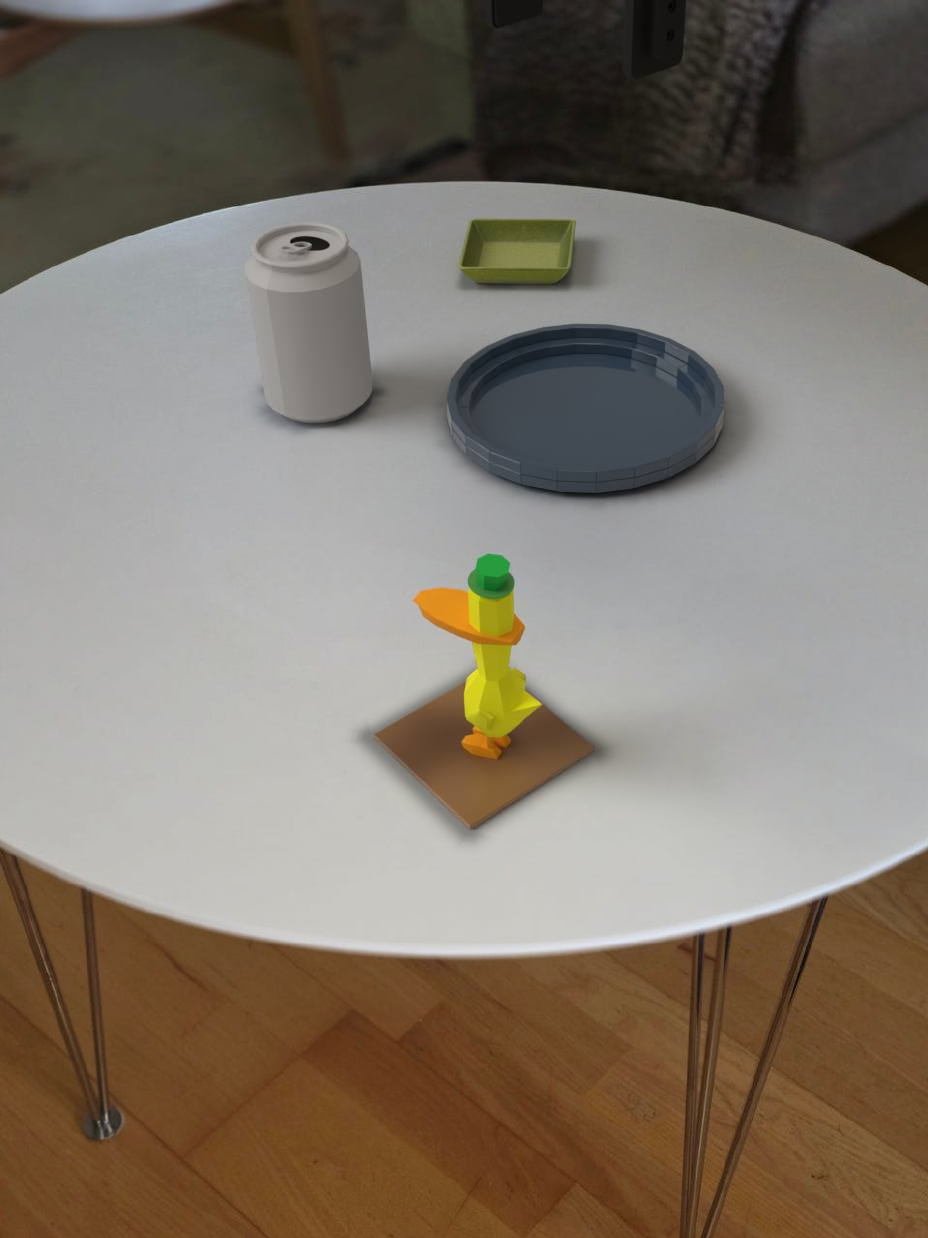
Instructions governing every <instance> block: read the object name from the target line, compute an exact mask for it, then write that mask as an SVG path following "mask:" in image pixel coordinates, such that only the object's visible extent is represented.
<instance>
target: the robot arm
mask: <svg viewBox="0 0 928 1238" xmlns="http://www.w3.org/2000/svg"><path fill="white" fill-rule="evenodd" d="M484 2H485V3H484V5H485V22H486V24H487V25H488V26H489V27H492V28H495V29H501V28H504V27H508V26H511V25H514V24H518V23H520V22H522V21H523V22H524V21H526V20H531V19H533V18H536V17H538V16H540V15H541V14H542V12H543V9H544V0H484ZM686 11H687V0H624V13H623V39H622V40H623V41H622V43H623V45H622V51H623V52H622V71H623V74H624V76H625V77H627V78H630V79H633V80H640V79H642V78H646V77H649V76H651V75H654V74H657V73H660V72H662V71H663V72H664V71H666V70H668V69H672V68H674V67H677V66H678V65H679V64H680V63H681V61H682V60H683V56H684V44H685V43H684V42H685V28H686V27H685V26H686Z"/></svg>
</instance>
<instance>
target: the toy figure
mask: <svg viewBox="0 0 928 1238" xmlns="http://www.w3.org/2000/svg"><path fill="white" fill-rule="evenodd" d="M510 568H511V562H510V561H509V560H508V559H507V558H506V557H505V556H504V555H503V554H496V553H486V554H484V555H481V556H479V557H477V559H476V563H475V568H474V569H473V570H472V571H470V573H469V575H468V577H467V586H468V590H464V589H458V588H451V587H442V586H441V587H435V588H428V589H423V590H422V589H421V590H420V591H419V593H417V594H416V595H415V596H414V598H412V602H413V603H414V604H416V605H417V606H418V608H419V610H420V613H421V616H422V617H423V618H424V619H425V620H427V621H429V622H430V623H431V624H432V625H434V626H435V627H438V628H440V629H441V630H444V631H446V632H448V633H450V634H452V635H454V636H456V637H458V638H461V639H464V640H467V641H469V642H471V645H472V649H473V654H474V658H475V664H476V669H475V670H474V671H473V672H472V673H471V674H469V675H468V676H467V677H466V686H465V691H464V705H465V717H466V718H467V719H466V720H468V721H469V722H470V723H472V724H473V725H475V726H474V727H473V729H472V730H473V733H474V734H472V735H467V736H465V737H464V739H463V740H462V742H461V743H462V746H463V748H465V749H466V750H467V751H469V752H470V753H471V754H474V755H477V756H482V757H487V758H492V759H498V757H499V756H500V754H501V750H500V749H499V748H498V747H497V746H500V747H504V748H507V746H508V745H509V744H510V743H511V739H510V738H509V737H508V736H507V734H508V733H510V732H511V731H512V730H513V729H514V728H515V727H516V726H518V725H519V724H520V723H521V722H522V721H523V720H524V719H525V718H526V717H527V716H529V715H530V714H531V713H532V712H533V711H535V710H536V709H537V708H538V707H540V706H541V705H543V703H541V702H540V701H539V700H538V699H537V698H535V697H534V696H533V695H532V694H531V693H529V692H528V691H527V690H526V678H527V677H526V676H527V675H526V674H525V673H523V672H522V671H521V670H518V669H517V668H515V667H513V668H510V662H511V654H512V653H511V652H512V646H517V645H518V644H519V643H520V641H521V640H522V637H523V635H524V632H525V630H526V625H525V624H524V623H523V622H522V621H521V619H520V618H519V617H518V616H517V615H516V613H515V594H514V592H515V591H514V588H515V583H516V581H515V578H514V575H512V573H511V572H510ZM526 691H527V692H528V693H527V692H526ZM532 696H533V697H532ZM537 700H538V701H537Z"/></svg>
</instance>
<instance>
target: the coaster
mask: <svg viewBox="0 0 928 1238" xmlns="http://www.w3.org/2000/svg"><path fill="white" fill-rule="evenodd" d="M466 681H467V680H466ZM466 681H463V682H462V683H460V684H458V685H457V686H455V687H453V688H452V689H450V690H448V691H446V692H444V693H443V694H441V695H439V696H438V697H436V698H434V699H433V700H431V701H429V702H427V703H425V704H424V705H422V706H420V707H418V708H417V709H415V710H413V711H412V712H410V713H408V714H407V715H405V716H403V717H401V718H400V719H398V720H396V721H394V722H393V723H391V724H389V725H387V726H386V727H384V728H383V729H381V730H379V731H377V732H375V733H373V739H374V740H375V741H376V742H377V743H378V744H379V745H380V746H381V747H382V748H383V749H385V751H387V753H388V754H389V755H391V756H392V757H393V758H394V759H395V760H396V761H397V762H398V763H399V764H400V765H401V766H402V767H403V768H404V769H405V770H406V771H407V772H408V773H410V774H411V776H413V777H414V779H415V780H417V781H418V782H419V783H420V784H421V785H422V786H423V787H424V788H425V789H426V790H427V791H428V792H430V794H432V795H433V796H434V797H435V798H436V799H437V800H438V801H439V802H440V803H441V804H442V805H443V806H444V807H445V808H446V809H447V810H448V811H449V812H450V813H451V814H452V815H453V816H454V817H456V818H457V819H458V820H459V821H460V822H461V823H462V824H463V825H464V826H465V827H466V828H467V829H468V830H470V831H471V830H473V829H475V828H476V827H478V826H479V825H481V824H482V823H484V822H486V821H487V820H489V819H490V818H492V817H494V816H495V815H496V814H498V813H500V812H501V811H503V810H504V809H506V808H508V807H509V806H510V805H512V804H514V803H515V802H517V801H518V800H520V799H522V798H523V797H524V796H526V795H528V794H529V793H531V792H533V791H534V790H536V789H537V788H539V787H540V786H542V785H543V784H545V783H546V782H548V781H550V780H552V778H554V777H556V776H557V775H559V774H560V773H562V772H564V771H565V770H567V769H568V768H570V767H572V766H573V765H575V764H577V762H579V761H580V760H583V759H584V758H585V757H587V756H589V755H590V754H592V753H593V752H595V746H594V745H593V744H591V743H590V742H589V741H587V740H586V739H585V738H584V737H583V736H582V735H580V734H579V733H578V732H576V730H574V729H573V728H572V727H571V726H570V725H568V724H567V723H565V722H564V721H563V720H562V719H561V718H560V717H558V716H557V715H556V714H555V713H554V712H552V711H551V710H550V709H549V708H548V707H546V706H545V704H542V705H541V706H540V707H538V708H537V709H536V710H535V711H533V712H532V713H531V714H530V715H529V716H527V717H526V718H525V719H524V720H523V721H522V722H521V723H520V724H519V725H518V726H516V727H515V728H514V729H513V730H512V731H511V732H510V733H508V734H507V736H508V737H509V738H510V739H511V743H510V744H509V745H508V746H507V748H504V747H500V746H497V747H498V748H499V749H500V750H501V754H500V756H499V757H498V759H492V758H487V757H482V756H477V755H474V754H471V753H470V752H469V751H467V750H466V749H465V748H463V746H462V743H461V742H462V740H463V739H464V737H465V736H467V735H472V734H474V733H473V730H472V729H473V727H474V726H475V725H473V724H472V723H470V722H469V721H468V720H466V719H467V718H466V717H465V705H464V691H465V686H466ZM525 691H526V692H527V693H529V692H528V691H527V690H525ZM531 696H532V697H534V696H533V695H531ZM536 700H537V701H539V700H538V699H536Z"/></svg>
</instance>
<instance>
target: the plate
mask: <svg viewBox="0 0 928 1238" xmlns="http://www.w3.org/2000/svg"><path fill="white" fill-rule="evenodd" d="M445 401H446V417H447V418H446V419H447V423H448V426H449V431H450V434H451V435H450V436H451V438H452V439H453V441H455V443H456V444H457V446H458V447H459V448H460V449H461V451H462V452H463V453H464V454H465V455H466V457H467V458H469V459H470V460H472V461H473V462H475V463H476V464H477V465H479V466H481V468H483V469H485V471H488V472H490V474H494V475H496V476H498V477H501V478H503V479H506V480H509V481H510V482H511V481H512V482H514V483H516V484H519V485H523V486H528V487H533V488H538V489H543V490H544V489H545V490H549V491H553V492H561V493H562V492H563V493H565V492H566V493H586V494H587V493H590V494H596V493H597V494H599V493H607V492H615V491H623V490H624V491H625V490H632V489H636V488H639V487H643V486H647V485H648V484H653V483H656V482H660V481H662V480H663V481H664V480H667V479H668V478H670V477H672V476H674V475H677V474H678V473H680V472H682V471H684V470H685V469H687V468H690V467H691V466H694V465H695V464H696V463H697V462H698V461H700V460H701V459H702V458H703V457H704V456H705V455H706V454H707V453H708V452H709V451H710V450H711V449H712V448H713V447H714V446H715V444H716V442H717V439H718V437H719V435H720V433H721V431H722V428H723V426H724V418H725V417H724V416H725V408H726V404H725V403H726V401H725V386H724V384H723V382H722V380H721V379H720V376H719V375H718V373H717V371H716V370H715V368H714V366H713V365H711V364H710V363H709V362H708V361H706V359H705V358H703V356H701V355H700V354H698V353H697V351H695V350H693V349H691V348H690V347H687V346H685V345H684V344H681V343H680V342H678V341H676V340H674V339H673V338H671V337H667V336H664V335H660V334H658V333H654V332H650V331H649V330H644V329H641V328H635V327H629V326H622V325H617V324H616V325H615V324H608V323H568V324H558V325H550V326H549V325H548V326H542V327H538V328H534V329H531V330H530V329H529V330H526V331H522V332H518V333H513V334H510V335H508V336H506V337H504V338H502V339H499V340H497V341H494V342H492V343H489V344H488V345H485V346H483V347H482V348H481V349H479V350H478V351H477V352H475V353H474V354H472V355H471V356H470V357H468V358H467V359H466V360H464V361H463V362H462V364H461V365H460V366H459V368H458V369H457V370H456V372H455V373H454V375H452V377H451V378H450V381H449V385H448V389H447V393H446V398H445Z"/></svg>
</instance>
